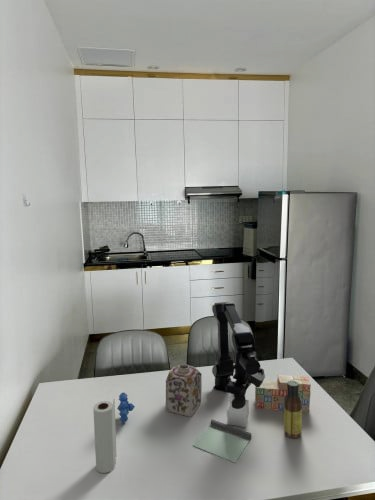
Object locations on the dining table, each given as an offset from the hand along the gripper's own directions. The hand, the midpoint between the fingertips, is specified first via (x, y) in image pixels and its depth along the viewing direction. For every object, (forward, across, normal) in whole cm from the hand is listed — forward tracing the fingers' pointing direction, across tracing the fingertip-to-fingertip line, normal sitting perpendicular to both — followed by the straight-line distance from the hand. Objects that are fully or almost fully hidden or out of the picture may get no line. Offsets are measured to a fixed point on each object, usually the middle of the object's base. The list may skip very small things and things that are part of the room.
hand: (241, 400), depth 141 cm
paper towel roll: (+8, -46, +28) cm, 54 cm away
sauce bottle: (+8, +1, -20) cm, 21 cm away
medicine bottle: (+7, -2, 0) cm, 7 cm away
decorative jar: (+7, -5, +24) cm, 25 cm away
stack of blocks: (+8, +16, -11) cm, 21 cm away
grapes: (+7, -25, +38) cm, 46 cm away
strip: (+8, -10, +1) cm, 12 cm away
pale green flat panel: (+8, -18, +1) cm, 19 cm away
